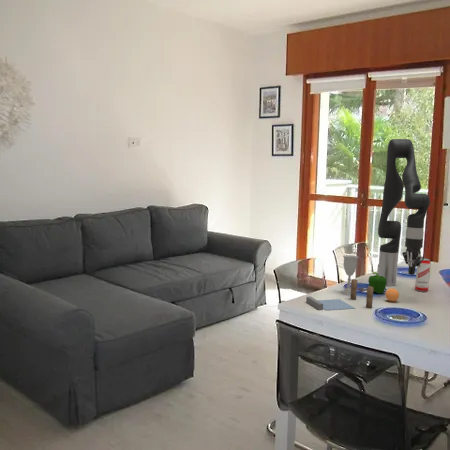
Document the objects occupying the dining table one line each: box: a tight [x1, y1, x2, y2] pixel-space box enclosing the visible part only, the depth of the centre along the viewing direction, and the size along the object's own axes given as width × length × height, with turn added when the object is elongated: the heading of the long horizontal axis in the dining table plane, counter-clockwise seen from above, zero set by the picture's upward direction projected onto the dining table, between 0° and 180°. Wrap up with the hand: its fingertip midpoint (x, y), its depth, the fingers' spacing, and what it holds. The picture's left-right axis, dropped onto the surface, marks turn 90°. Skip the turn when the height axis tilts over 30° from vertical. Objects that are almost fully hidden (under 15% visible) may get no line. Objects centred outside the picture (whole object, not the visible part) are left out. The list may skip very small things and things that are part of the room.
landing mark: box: [316, 298, 356, 311], centre depth 219 cm, size 14×14×1 cm
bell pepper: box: [368, 271, 387, 294], centre depth 242 cm, size 8×8×10 cm
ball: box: [384, 287, 400, 302], centre depth 227 cm, size 6×6×6 cm
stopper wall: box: [305, 296, 324, 311], centre depth 217 cm, size 12×2×2 cm, turn 16°
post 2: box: [365, 285, 374, 309], centre depth 216 cm, size 3×3×9 cm
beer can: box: [414, 257, 431, 293], centre depth 248 cm, size 6×6×16 cm
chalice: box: [342, 254, 360, 296], centre depth 238 cm, size 7×7×18 cm
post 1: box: [349, 278, 358, 301], centre depth 229 cm, size 3×3×9 cm
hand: (411, 274), depth 229 cm, fingers closed
